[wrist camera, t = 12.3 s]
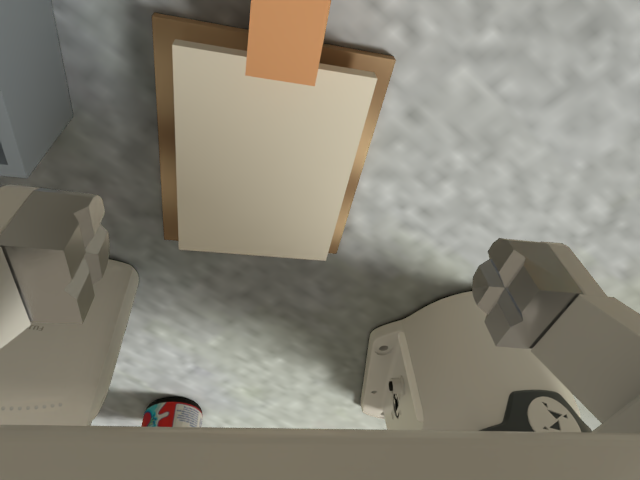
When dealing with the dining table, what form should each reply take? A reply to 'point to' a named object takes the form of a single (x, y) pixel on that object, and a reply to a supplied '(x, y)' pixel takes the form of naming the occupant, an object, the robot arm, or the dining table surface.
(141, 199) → the dining table surface
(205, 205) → the lid
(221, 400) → the dining table surface
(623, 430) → the robot arm
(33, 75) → the tub
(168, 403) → the beverage can
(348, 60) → the mat
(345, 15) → the dining table surface
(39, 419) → the photo printer
